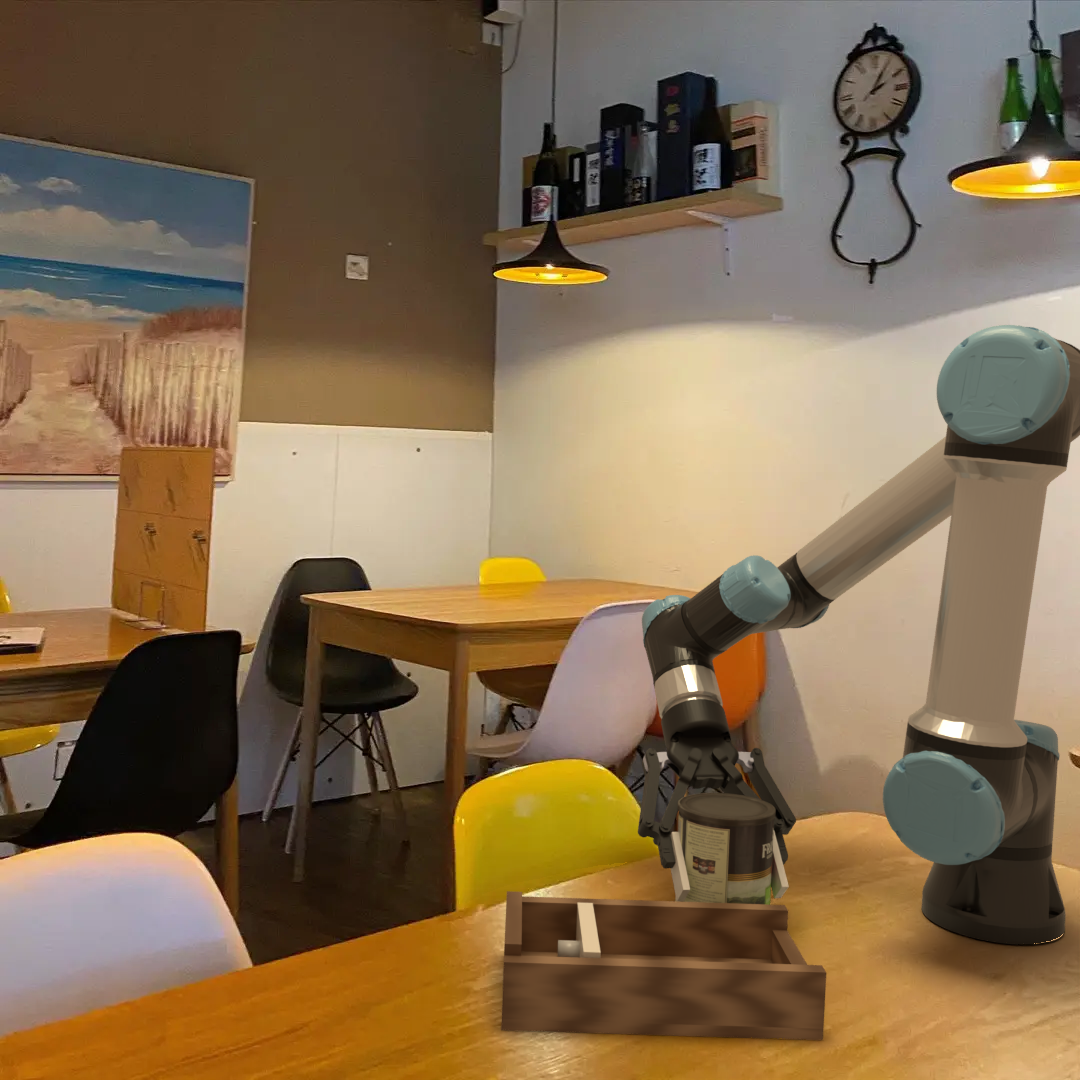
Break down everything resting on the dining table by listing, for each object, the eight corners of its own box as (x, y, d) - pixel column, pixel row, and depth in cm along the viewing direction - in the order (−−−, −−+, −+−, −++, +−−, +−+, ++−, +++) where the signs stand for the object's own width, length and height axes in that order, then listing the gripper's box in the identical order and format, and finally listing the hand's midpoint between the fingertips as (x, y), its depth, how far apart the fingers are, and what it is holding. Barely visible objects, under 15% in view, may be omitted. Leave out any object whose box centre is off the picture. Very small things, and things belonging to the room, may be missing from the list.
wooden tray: (781, 963, 116) (785, 895, 115) (823, 1040, 100) (826, 961, 99) (504, 954, 115) (507, 886, 115) (501, 1030, 99) (504, 950, 99)
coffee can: (767, 921, 127) (773, 795, 126) (771, 959, 117) (778, 822, 116) (674, 912, 129) (679, 788, 128) (669, 949, 118) (675, 814, 118)
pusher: (590, 952, 113) (592, 903, 113) (598, 1008, 101) (600, 952, 101) (555, 951, 113) (557, 901, 113) (558, 1006, 101) (560, 951, 101)
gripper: (773, 731, 139) (822, 906, 124) (591, 731, 135) (620, 913, 120) (793, 695, 134) (846, 874, 119) (604, 695, 129) (635, 880, 115)
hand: (732, 894), depth 119 cm, fingers closed on coffee can, 10 cm apart
